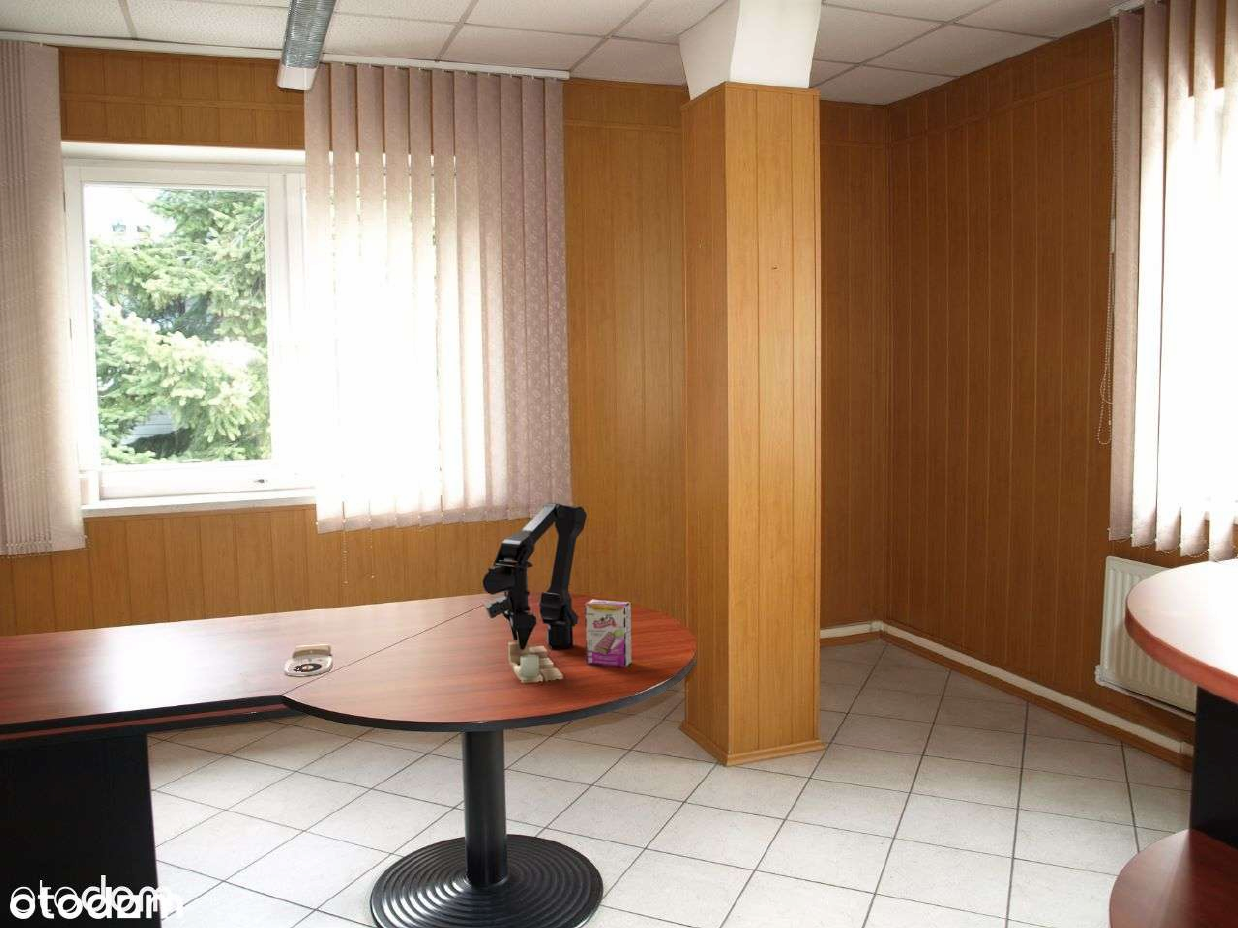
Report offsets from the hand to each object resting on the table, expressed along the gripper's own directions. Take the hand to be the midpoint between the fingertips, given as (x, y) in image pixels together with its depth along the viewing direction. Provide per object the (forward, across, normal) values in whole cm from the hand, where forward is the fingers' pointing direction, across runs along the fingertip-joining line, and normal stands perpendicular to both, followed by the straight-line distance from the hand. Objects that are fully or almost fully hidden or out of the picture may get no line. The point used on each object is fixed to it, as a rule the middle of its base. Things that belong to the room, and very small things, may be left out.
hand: (519, 644), depth 276 cm
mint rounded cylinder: (+4, +14, 0) cm, 15 cm away
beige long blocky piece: (+5, +8, 0) cm, 10 cm away
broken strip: (+5, +6, +5) cm, 9 cm away
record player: (+6, -18, -53) cm, 57 cm away
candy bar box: (+5, +9, +22) cm, 24 cm away
